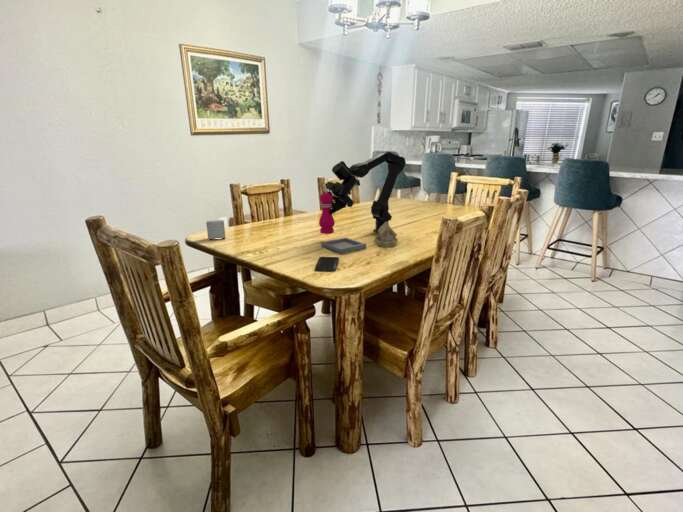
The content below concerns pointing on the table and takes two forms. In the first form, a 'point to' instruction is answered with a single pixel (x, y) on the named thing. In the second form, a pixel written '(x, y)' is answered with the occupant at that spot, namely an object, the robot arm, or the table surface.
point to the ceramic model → (386, 236)
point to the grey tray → (343, 245)
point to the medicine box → (215, 229)
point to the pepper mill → (326, 213)
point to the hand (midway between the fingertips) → (326, 213)
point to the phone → (327, 264)
